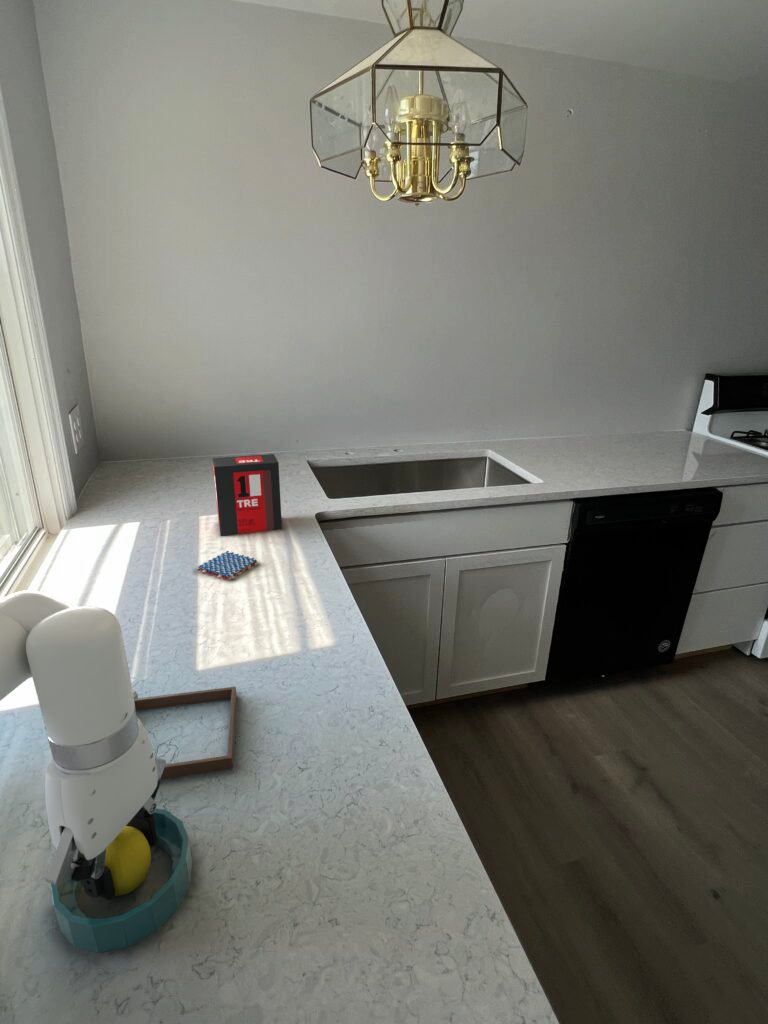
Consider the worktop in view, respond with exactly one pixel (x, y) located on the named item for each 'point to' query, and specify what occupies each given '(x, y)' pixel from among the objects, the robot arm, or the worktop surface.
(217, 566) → the woven mat
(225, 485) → the cleaning product box
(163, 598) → the worktop surface
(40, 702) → the robot arm
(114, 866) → the lemon
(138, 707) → the brown wooden frame
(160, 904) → the teal ring
